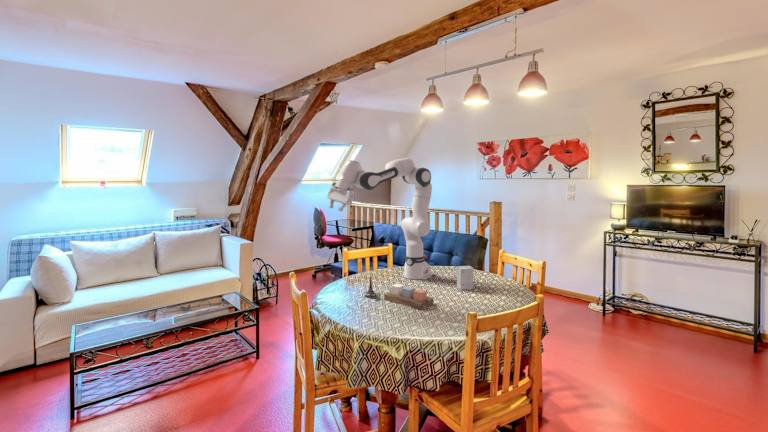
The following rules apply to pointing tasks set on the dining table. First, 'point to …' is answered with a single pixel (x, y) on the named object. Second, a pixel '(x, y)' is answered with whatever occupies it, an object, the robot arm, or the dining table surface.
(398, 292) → the cream cube
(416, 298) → the peach cube
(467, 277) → the small box
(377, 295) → the eiffel tower figurine
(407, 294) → the slate key
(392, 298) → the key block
